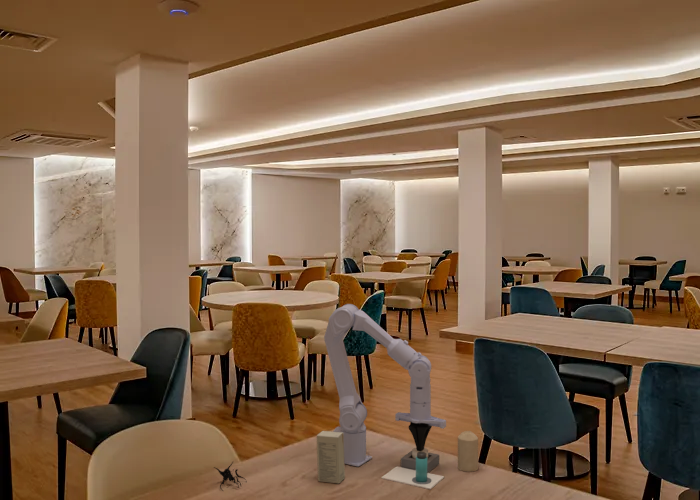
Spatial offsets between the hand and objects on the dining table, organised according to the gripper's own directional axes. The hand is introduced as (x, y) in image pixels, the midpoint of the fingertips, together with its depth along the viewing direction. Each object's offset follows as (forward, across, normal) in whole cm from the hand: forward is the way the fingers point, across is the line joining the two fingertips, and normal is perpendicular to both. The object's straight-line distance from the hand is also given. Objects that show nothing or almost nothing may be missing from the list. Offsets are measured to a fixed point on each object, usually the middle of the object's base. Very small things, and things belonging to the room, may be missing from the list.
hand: (420, 449), depth 174 cm
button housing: (+4, 0, 0) cm, 4 cm away
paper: (+4, +2, -9) cm, 10 cm away
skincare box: (+5, -16, -21) cm, 27 cm away
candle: (+5, +12, +5) cm, 14 cm away
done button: (+3, 0, 0) cm, 3 cm away
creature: (+5, -36, -37) cm, 52 cm away
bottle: (+4, +5, -10) cm, 12 cm away
